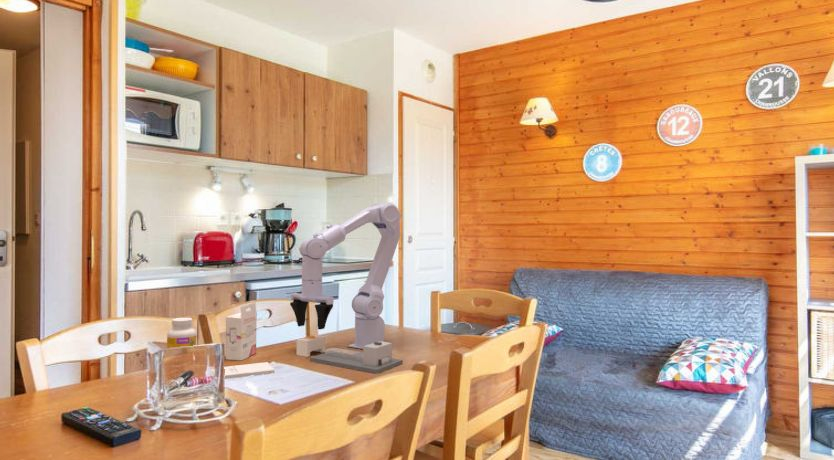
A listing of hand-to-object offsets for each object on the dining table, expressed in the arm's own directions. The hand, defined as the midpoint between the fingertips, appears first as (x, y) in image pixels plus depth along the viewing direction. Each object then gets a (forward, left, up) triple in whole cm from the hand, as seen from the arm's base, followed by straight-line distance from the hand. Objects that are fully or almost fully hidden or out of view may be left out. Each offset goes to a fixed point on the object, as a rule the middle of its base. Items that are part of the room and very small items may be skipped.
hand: (311, 327), depth 156 cm
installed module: (+1, +24, -6) cm, 25 cm away
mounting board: (+1, +17, -7) cm, 19 cm away
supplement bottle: (+32, -14, -8) cm, 36 cm away
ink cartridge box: (+14, -13, -8) cm, 21 cm away
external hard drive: (+24, 0, -8) cm, 25 cm away
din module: (0, 0, -7) cm, 7 cm away
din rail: (+1, +17, -7) cm, 19 cm away
